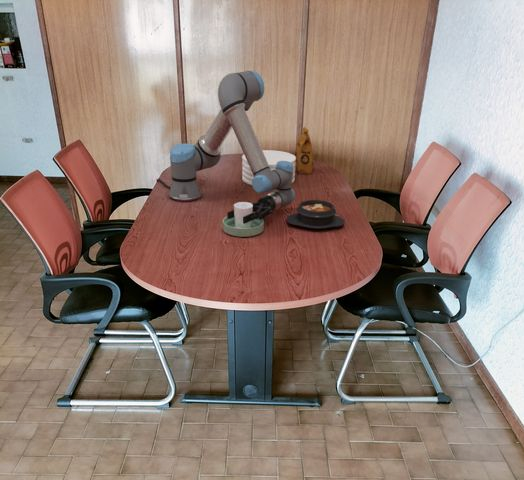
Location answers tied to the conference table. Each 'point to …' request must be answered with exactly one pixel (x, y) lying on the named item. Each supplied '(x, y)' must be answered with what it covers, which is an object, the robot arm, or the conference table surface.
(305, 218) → the casserole
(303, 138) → the coffee package
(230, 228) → the basin
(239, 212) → the white cup
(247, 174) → the plate stack
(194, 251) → the conference table surface
